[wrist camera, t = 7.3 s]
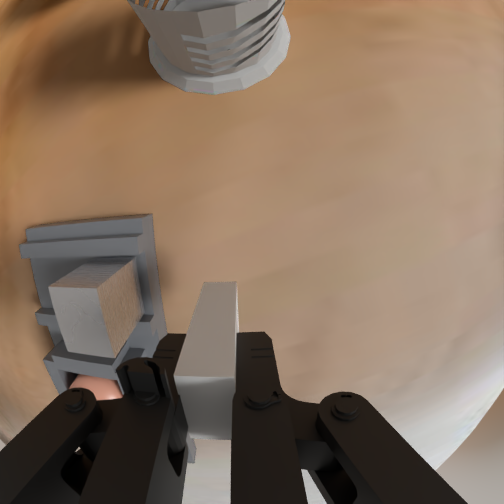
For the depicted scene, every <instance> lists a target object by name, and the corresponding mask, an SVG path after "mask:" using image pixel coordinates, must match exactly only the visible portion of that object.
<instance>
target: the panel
mask: <svg viewBox="0 0 504 504" xmlns="http://www.w3.org/2000/svg"><path fill="white" fill-rule="evenodd" d="M26 236H27V242H24V243H22V244H19V248H20V253H21V258H30V260H31V265H32V270H33V275H34V279H35V284H36V288H37V292H38V296H39V299H40V303H41V306H42V308H40V309H39V310H38V311H37V312H35V315H36V318H37V321H38V324H39V325H44V326H48V329H49V332H50V335H51V338H52V340H53V343H54V346H55V347H54V348H53V349H52V350H51V351H50V352H49V353H48V354H47V355H46V357H45V358H44V359H43V361H44V363H45V366H46V368H47V370H48V372H49V374H50V376H51V379H52V381H53V383H54V385H55V387H56V389H57V391H58V393H59V395H60V394H61V393H63V392H64V391H66V390H68V389H69V388H70V386H71V384H72V383H73V382H74V380H75V379H76V377H77V376H78V374H83V375H88V376H93V377H99V378H105V379H112V380H117V381H118V384H119V386H120V389H121V391H122V394H123V395H124V392H123V389H122V386H121V384H120V381H119V378H118V376H117V373H116V368H117V367H118V366H119V365H120V364H122V363H123V362H125V361H127V360H129V359H133V358H137V357H149V358H153V354H154V352H155V351H156V347H157V345H158V343H159V341H160V340H161V339H162V338H163V337H165V336H166V335H167V328H166V322H165V317H164V311H163V304H162V298H161V291H160V284H159V276H158V268H157V260H156V251H155V241H154V230H153V217H152V214H143V215H130V216H117V217H106V218H95V219H85V220H75V221H66V222H57V223H49V224H41V225H38V226H34V227H31V228H28V229H26ZM112 257H136V261H137V268H138V275H139V282H140V288H141V294H142V300H143V305H144V311H145V313H144V315H143V316H142V318H141V319H140V321H139V322H138V324H137V325H136V327H135V328H134V330H133V331H132V333H131V334H130V336H129V337H128V339H127V340H126V342H125V343H124V345H123V347H122V348H121V350H120V351H119V353H118V354H117V356H116V358H108V357H101V356H93V355H87V354H80V353H74V352H68V350H67V348H66V345H65V342H64V339H63V336H62V334H61V331H60V327H59V324H58V321H57V318H56V315H55V311H54V308H53V304H52V300H51V296H50V293H49V288H48V286H50V285H51V284H53V283H55V282H56V281H58V280H59V279H61V278H62V277H64V276H66V275H67V274H69V273H70V272H72V271H74V270H75V269H77V268H78V267H80V266H82V265H83V264H85V263H87V262H88V261H90V260H92V259H93V258H112ZM186 442H187V445H188V452H189V453H188V460H187V463H195V455H196V447H195V444H194V440H193V438H190V435H189V432H187V438H186Z"/></svg>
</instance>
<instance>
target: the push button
mask: <svg viewBox="0 0 504 504" xmlns="http://www.w3.org/2000/svg"><path fill="white" fill-rule="evenodd" d="M78 387H82V388H86V389H89V390H90V391H91V392H93V393H94V395H95V397H96V399H97V400H107V399H117V398H122V397H123V394H122V391H121V389H120V386H119V384H118V381H117V380H112V379H105V378H99V377H93V376H88V375H83V374H78V376H77V377H76V379H75V380H74V382H73V383H72V384H71V386H70V388H69V389H71V388H78Z"/></svg>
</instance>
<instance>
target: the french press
mask: <svg viewBox="0 0 504 504" xmlns="http://www.w3.org/2000/svg"><path fill="white" fill-rule="evenodd" d="M127 1H128V2H129V4H130V5H131V7H132V8H133V10H134V11H135V13H136V14H137V15H138V17H139V18H140V20H141V21H142V23H143V24H144V26H145V27H146V29H147V30H148V32H149V33H150V35H151V36H150V38H149V41H148V46H149V58H150V63H151V64H152V65H153V67H154V68H155V70H156V71H157V72H158V74H159V75H160V77H161V78H162V79H163V80H165V81H167V82H168V83H170V84H172V85H174V86H176V87H178V88H180V89H182V90H184V91H187V92H196V93H204V94H211V95H216V94H221V93H226V92H232V91H238V90H244V89H246V88H248V87H250V86H251V85H253V84H255V83H257V82H259V81H261V80H263V79H265V78H267V77H269V76H270V75H271V74H272V73H273V71H274V70H275V69H276V68H277V67H278V66H279V65H280V63H281V62H282V61H283V60H284V59H285V58H286V54H287V50H288V46H289V42H290V38H291V36H290V33H289V30H288V26H287V23H286V20H285V17H284V16H283V15H282V12H283V10H284V5H285V0H169V2H168V3H167V5H166V7H165V8H164V10H160V8H161V6H162V4H163V2H164V0H159V1H158V3H157V5H156V8H155V10H154V9H152V7H153V4H154V1H155V0H150V1H149V3H148V6H147V8H145V7H143V5H144V3H145V0H139V5H137V4H135V0H127Z"/></svg>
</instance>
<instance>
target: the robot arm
mask: <svg viewBox="0 0 504 504" xmlns="http://www.w3.org/2000/svg"><path fill="white" fill-rule="evenodd" d="M116 373H117V376H118V378H119V381H120V384H121V386H122V389H123V392H124V395H123V397H122V398H117V399H107V400H97V399H96V397H95V395H94V393H93V392H91V391H90V390H89V389H86V388H82V387H78V388H71V389H68V390H66V391H64V392H63V393H61V394H60V395H59V396H57V397H56V398H55V399H54V400H53V401H52V402H51V403H50V404H49V405H48V406H47V407H46V408H45V409H44V410H43V411H41V412H40V413H39V414H38V415H37V416H36V417H35V418H34V419H33V420H32V421H31V422H30V423H29V424H28V425H27V426H26V427H25V428H24V429H23V430H22V431H21V432H20V433H19V434H17V435H16V436H15V437H14V438H13V439H12V440H11V441H10V442H9V443H8V444H7V445H6V446H5V447H4V448H3V449H2V450H1V451H0V504H182V497H183V489H184V482H185V474H186V467H187V460H188V453H189V452H188V445H187V442H186V438H187V432H189V435H190V438H193V439H217V440H231V504H308V502H307V497H306V492H305V487H304V482H303V477H302V472H301V469H306V470H308V472H309V474H310V476H311V477H312V479H313V481H314V482H315V484H316V486H317V488H318V489H319V491H320V493H321V494H322V496H323V498H324V499H325V501H326V502H327V504H468V503H467V502H466V501H465V500H464V499H463V498H462V497H461V496H459V494H458V493H456V491H454V490H453V488H452V487H450V486H449V484H447V482H446V481H445V480H444V479H443V478H442V477H441V476H440V475H439V474H438V473H437V472H436V471H435V470H434V469H433V468H432V467H431V466H430V465H429V464H428V463H427V462H426V461H425V460H424V459H423V458H422V457H421V456H420V455H419V454H418V453H417V452H416V451H415V450H414V449H413V448H412V447H411V446H410V445H409V444H408V443H407V442H406V440H405V439H404V438H403V437H402V436H401V435H400V434H399V433H398V432H397V431H396V430H395V429H394V428H393V427H392V426H391V425H390V424H389V423H388V422H387V421H386V420H385V418H384V417H383V416H382V415H381V414H380V413H379V412H378V411H377V410H376V409H375V408H374V407H373V406H372V405H371V404H370V403H369V402H368V400H366V399H365V398H363V397H362V396H361V395H358V394H355V393H352V392H337V393H332V394H330V395H328V396H327V397H325V398H324V399H323V400H322V401H321V402H320V404H317V403H308V402H302V401H298V400H295V399H293V398H291V397H289V396H288V395H287V394H285V392H284V391H283V390H282V388H281V385H280V381H279V375H278V370H277V365H276V360H275V355H274V350H273V344H272V339H271V338H270V337H269V336H268V335H267V334H266V333H265V332H242V333H239V322H238V299H237V282H204V284H203V287H202V290H201V293H200V296H199V298H198V301H197V304H196V307H195V310H194V313H193V316H192V319H191V322H190V325H189V328H188V331H187V334H171V333H168V334H167V335H166V336H165V337H163V338H162V339H161V340H160V341H159V343H158V345H157V347H156V351H155V352H154V354H153V358H149V357H137V358H133V359H129V360H127V361H125V362H123V363H122V364H120V365H119V366H118V367H117V368H116ZM78 447H80V448H81V449H80V450H78V451H77V452H75V451H76V449H77V448H78Z"/></svg>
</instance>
